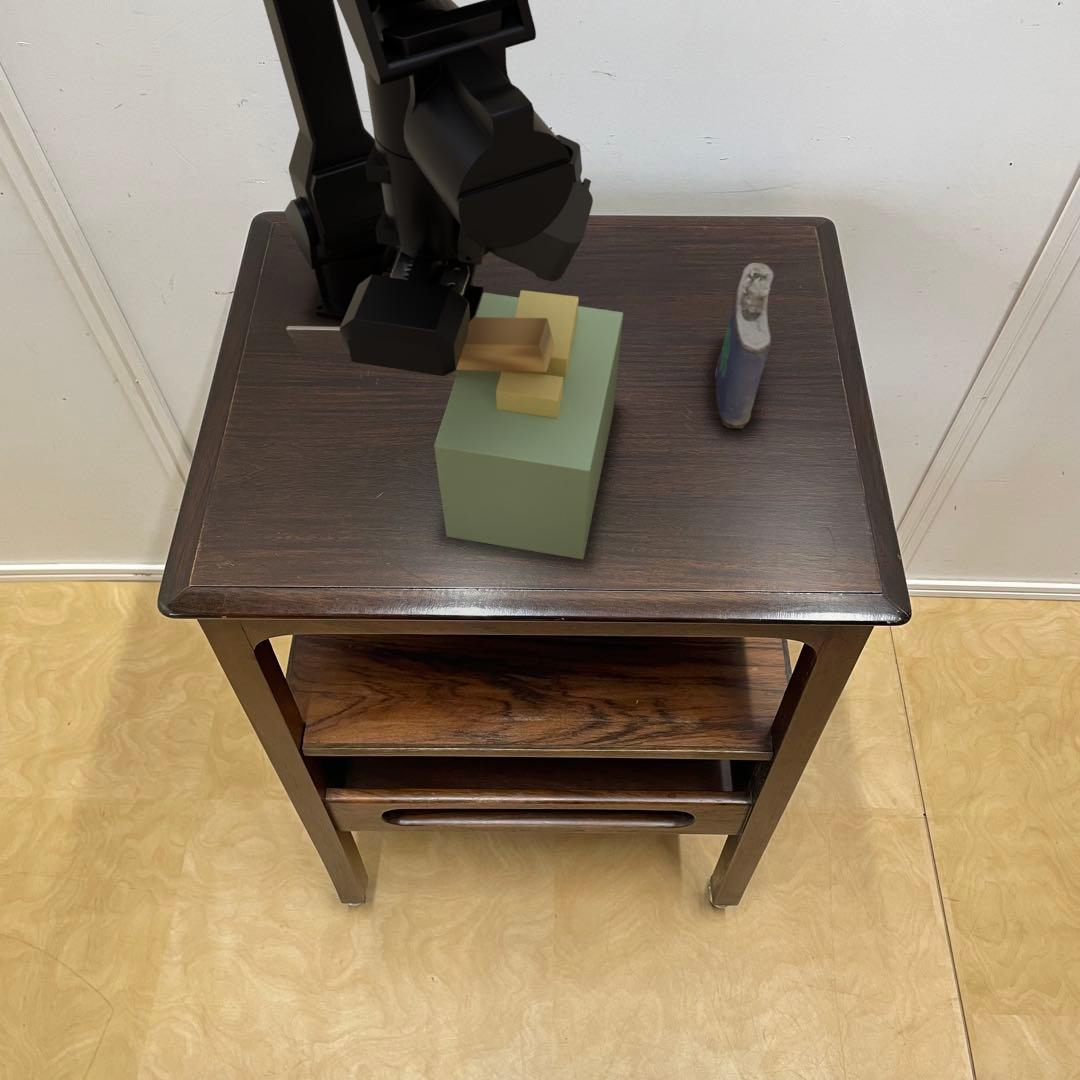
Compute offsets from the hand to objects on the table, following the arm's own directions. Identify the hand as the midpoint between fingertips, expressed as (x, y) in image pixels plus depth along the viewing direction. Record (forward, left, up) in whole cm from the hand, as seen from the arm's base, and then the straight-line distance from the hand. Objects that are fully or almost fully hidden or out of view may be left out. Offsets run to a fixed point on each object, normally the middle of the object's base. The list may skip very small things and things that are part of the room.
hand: (450, 341), depth 64 cm
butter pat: (+6, -2, -3) cm, 7 cm away
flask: (+19, +12, -13) cm, 26 cm away
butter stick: (+6, +3, -3) cm, 7 cm away
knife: (-2, 0, -2) cm, 3 cm away
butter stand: (+5, 0, -13) cm, 14 cm away
